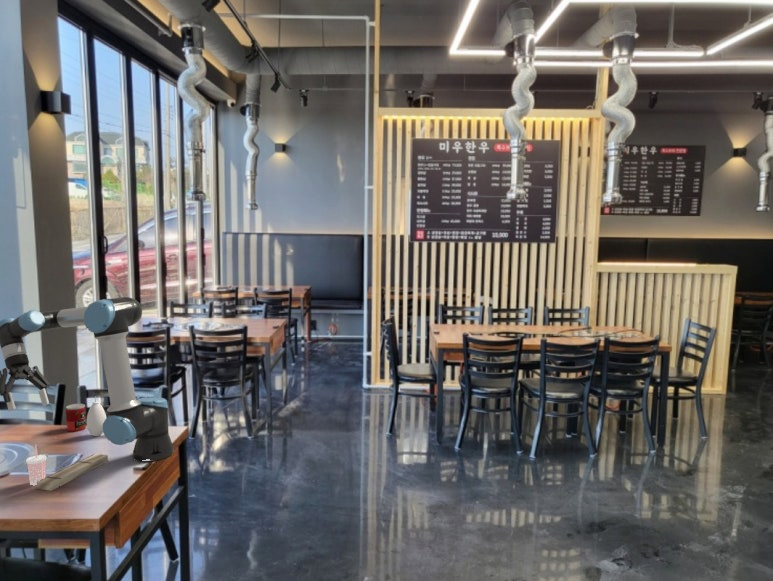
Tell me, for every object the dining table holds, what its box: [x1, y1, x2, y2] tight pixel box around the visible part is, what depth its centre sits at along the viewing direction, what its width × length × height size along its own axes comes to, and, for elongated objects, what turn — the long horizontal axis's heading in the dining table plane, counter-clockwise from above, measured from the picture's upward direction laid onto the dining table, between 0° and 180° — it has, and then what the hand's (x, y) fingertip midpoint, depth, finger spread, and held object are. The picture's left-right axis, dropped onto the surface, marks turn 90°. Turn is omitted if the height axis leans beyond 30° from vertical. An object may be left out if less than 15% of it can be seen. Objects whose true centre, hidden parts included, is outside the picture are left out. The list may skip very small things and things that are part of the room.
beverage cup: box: [25, 443, 47, 487], centre depth 186 cm, size 6×6×14 cm
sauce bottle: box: [86, 396, 107, 437], centre depth 234 cm, size 8×8×18 cm
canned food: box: [65, 403, 87, 433], centre depth 242 cm, size 8×8×11 cm
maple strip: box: [36, 453, 109, 492], centre depth 194 cm, size 6×26×3 cm, turn 166°
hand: (29, 407), depth 203 cm, fingers open, 13 cm apart
